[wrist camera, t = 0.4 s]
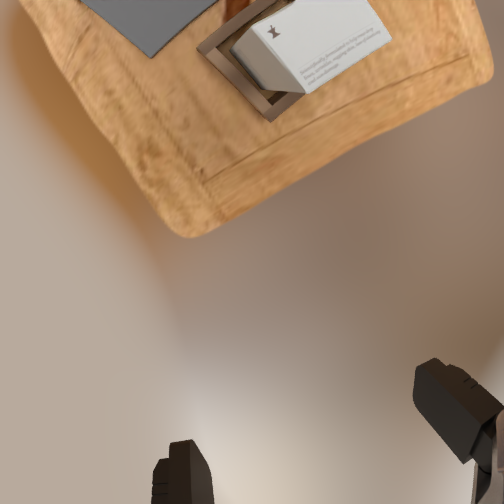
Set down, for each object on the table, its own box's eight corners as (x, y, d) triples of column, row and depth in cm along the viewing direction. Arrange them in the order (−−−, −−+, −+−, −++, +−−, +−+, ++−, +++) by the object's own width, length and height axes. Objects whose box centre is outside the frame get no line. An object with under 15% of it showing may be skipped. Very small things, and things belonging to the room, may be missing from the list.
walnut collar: (197, 50, 27) (196, 47, 24) (286, -18, 23) (295, -26, 20) (264, 117, 32) (270, 122, 29) (346, 52, 28) (360, 51, 26)
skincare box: (261, 90, 30) (304, 104, 18) (225, 48, 27) (244, 29, 15) (322, 49, 28) (398, 44, 16) (289, 6, 25) (350, -29, 13)
